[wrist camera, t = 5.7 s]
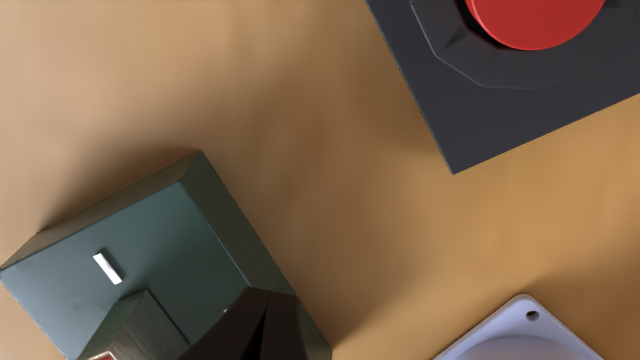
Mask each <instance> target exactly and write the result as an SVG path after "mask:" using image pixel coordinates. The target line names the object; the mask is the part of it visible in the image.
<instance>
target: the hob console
mask: <svg viewBox="0 0 640 360" xmlns="http://www.w3.org/2000/svg"><path fill="white" fill-rule="evenodd" d="M0 282H1V283H2V284H3V285H4V286H5V287H6V289H7V290H8V291H9V292H10V293H11V294H12V296H13V297H14V298H15V299H16V300H17V301H18V303H19V304H20V305H21V306H22V307H23V309H24V310H25V311H26V312H27V313H28V314H29V316H30V317H31V318H32V319H33V320H34V321H35V323H36V324H37V325H38V326H39V327H40V328H41V330H42V331H43V332H44V333H45V334H46V336H47V337H48V338H49V339H50V340H51V341H52V343H53V344H54V345H55V346H56V347H57V348H58V350H59V351H60V352H61V353H62V354H63V355H64V357H65V358H66V359H67V360H77V358H78V357H79V355H80V354H81V352H82V351H83V349H84V348H85V346H86V345H87V343H88V342H89V340H90V339H91V337H92V336H93V334H94V333H95V331H96V330H97V328H98V327H99V325H100V324H101V322H102V321H103V319H104V318H105V316H106V315H107V313H108V312H109V310H110V309H111V307H112V306H113V305H114V303H116V302H118V301H120V300H122V299H124V298H127V297H129V296H131V295H133V294H136V293H138V292H140V291H142V290H144V289H147V290H148V291H149V293H150V294H151V295H152V297H153V298H154V299H155V301H156V302H157V303H158V305H159V306H160V307H161V309H162V310H163V311H164V313H165V314H166V315H167V316H168V318H169V319H170V320H171V322H172V323H173V324H174V326H175V327H176V328H177V330H178V331H179V332H180V334H181V335H182V336H183V338H184V339H185V340H186V342H187V343H188V344H189V346H191V345H192V344H193V343H195V342H196V341H197V340H198V339H199V338H200V337H201V336H202V335H203V334H204V333H205V332H206V331H207V330H208V329H209V328H210V327H211V326H212V325H213V324H214V323H215V322H216V321H217V320H218V319H219V318H220V317H221V316H222V315H223V314H224V313H225V311H226V310H227V309H228V308H229V307H230V306H231V305H232V303H233V302H234V301H235V300H236V298H237V297H238V296H239V294H240V293H241V291H242V290H243V289H244V288H246V287H248V286H250V287H255V288H260V289H265V290H270V291H275V292H280V293H286V294H291V295H296V294H295V293H294V291H293V289H292V288H291V286H290V285H289V283H288V282H287V280H286V279H285V277H284V276H283V274H282V273H281V271H280V270H279V268H278V266H277V265H276V263H275V262H274V260H273V259H272V257H271V256H270V254H269V253H268V251H267V250H266V248H265V247H264V245H263V243H262V242H261V240H260V239H259V237H258V236H257V234H256V233H255V231H254V230H253V228H252V227H251V225H250V224H249V222H248V220H247V219H246V217H245V216H244V214H243V213H242V211H241V210H240V208H239V207H238V205H237V204H236V202H235V201H234V199H233V197H232V196H231V194H230V193H229V191H228V190H227V188H226V187H225V185H224V184H223V182H222V181H221V179H220V178H219V176H218V174H217V173H216V171H215V170H214V168H213V167H212V165H211V164H210V162H209V161H208V159H207V158H206V156H205V155H204V153H203V151H201V150H200V151H198V152H196V153H194V154H192V155H190V156H188V157H186V158H184V159H182V160H180V161H178V162H176V163H174V164H172V165H170V166H168V167H166V168H165V169H163V170H161V171H159V172H157V173H155V174H153V175H151V176H149V177H147V178H145V179H143V180H141V181H139V182H137V183H135V184H133V185H131V186H129V187H128V188H126V189H124V190H122V191H120V192H118V193H116V194H114V195H112V196H110V197H108V198H106V199H104V200H102V201H100V202H98V203H96V204H94V205H92V206H91V207H89V208H87V209H85V210H83V211H81V212H79V213H77V214H75V215H73V216H71V217H69V218H67V219H65V220H63V221H61V222H59V223H57V224H56V225H54V226H52V227H50V228H48V229H46V230H44V231H42V232H40V233H38V234H36V235H34V236H33V237H31V238H30V239H29V240H28V241H27V242H26V243H25V244H24V245H23V246H22V247H21V248H20V249H19V250H18V251H17V252H16V253H15V254H13V255H12V256H11V257H10V258H9V259H8V260H7V261H6V262H5V263H4V264H3V265H2V266H1V267H0ZM300 321H301V328H302V334H303V339H304V344H305V348H306V352H307V356H308V360H332V349H331V348H330V346H329V345H328V343H327V342H326V340H325V339H324V337H323V335H322V334H321V332H320V331H319V329H318V328H317V326H316V325H315V323H314V322H313V320H312V319H311V317H310V316H309V314H308V312H307V311H306V309H305V308H304V306H303V305H302V303H301V302H300Z"/></svg>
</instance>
